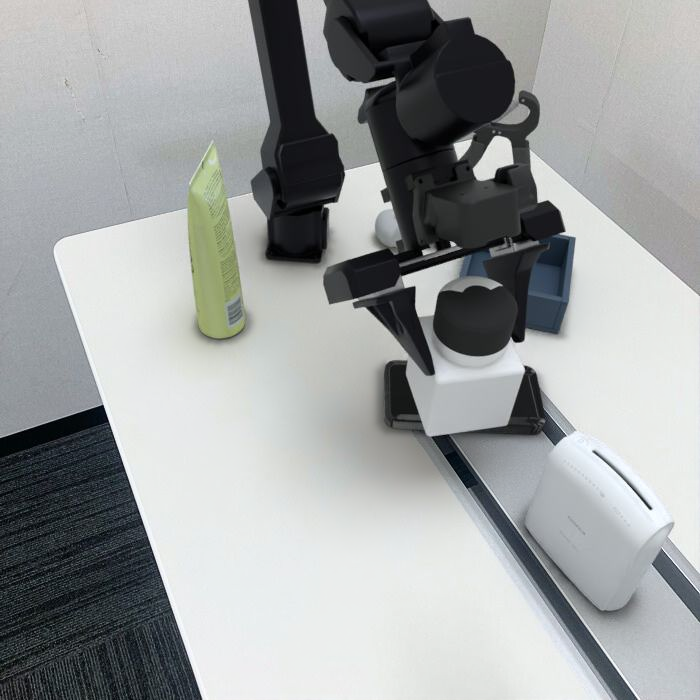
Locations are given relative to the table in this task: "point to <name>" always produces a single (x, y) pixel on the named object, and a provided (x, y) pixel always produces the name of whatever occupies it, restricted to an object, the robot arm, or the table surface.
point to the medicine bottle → (468, 359)
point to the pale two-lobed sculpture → (387, 228)
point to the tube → (213, 252)
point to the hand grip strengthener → (507, 132)
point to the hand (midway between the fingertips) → (475, 358)
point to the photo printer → (597, 520)
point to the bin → (540, 282)
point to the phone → (522, 421)
